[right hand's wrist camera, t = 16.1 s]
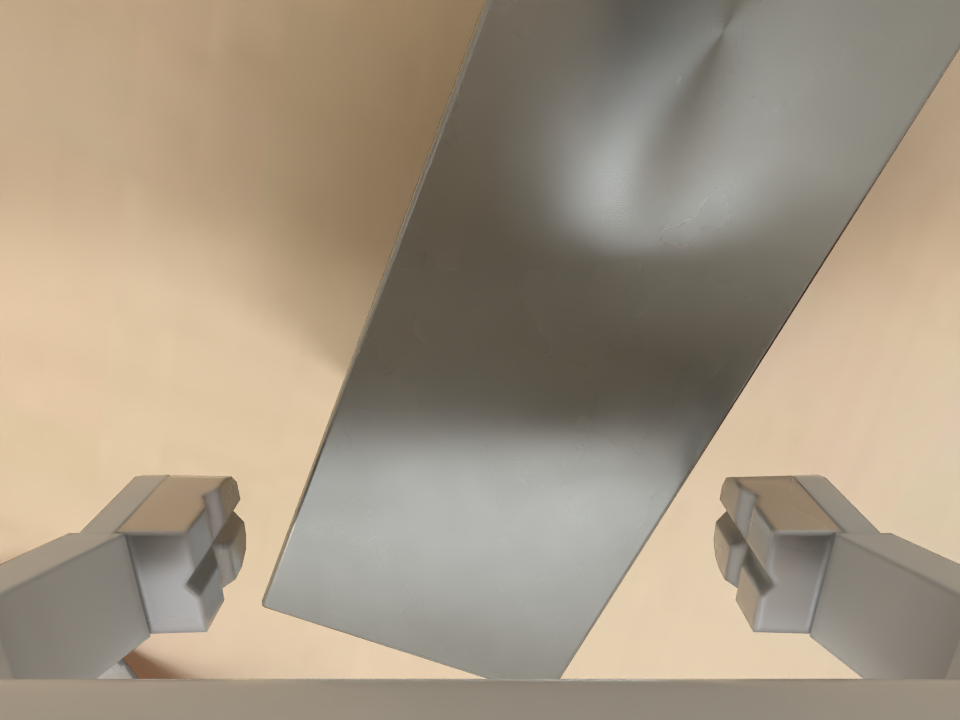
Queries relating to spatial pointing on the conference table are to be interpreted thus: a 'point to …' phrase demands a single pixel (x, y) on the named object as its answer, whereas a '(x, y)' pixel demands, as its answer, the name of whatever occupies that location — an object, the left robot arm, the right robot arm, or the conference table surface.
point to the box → (586, 304)
